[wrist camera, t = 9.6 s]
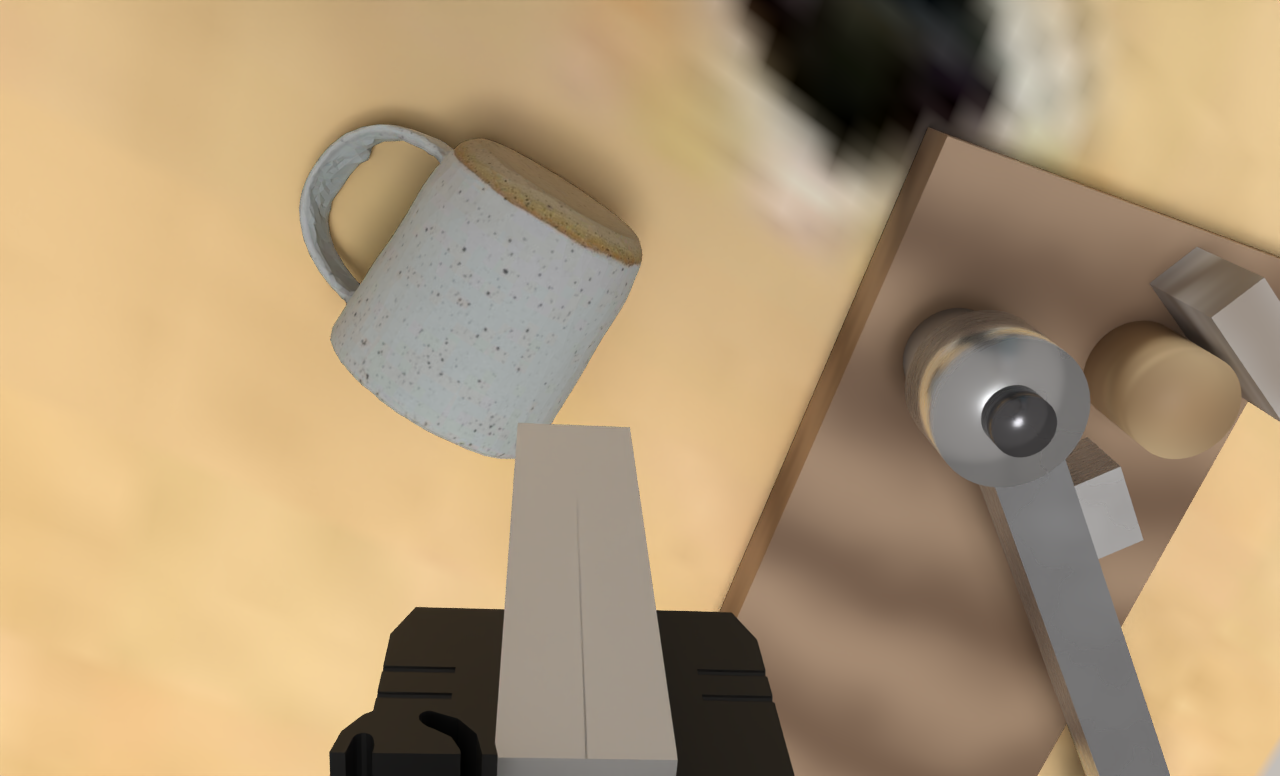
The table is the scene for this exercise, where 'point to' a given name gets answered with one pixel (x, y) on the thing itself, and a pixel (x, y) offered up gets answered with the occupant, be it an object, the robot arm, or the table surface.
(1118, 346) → the tan wooden cylinder
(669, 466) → the table surface
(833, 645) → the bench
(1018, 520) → the lever
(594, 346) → the ceramic mug
